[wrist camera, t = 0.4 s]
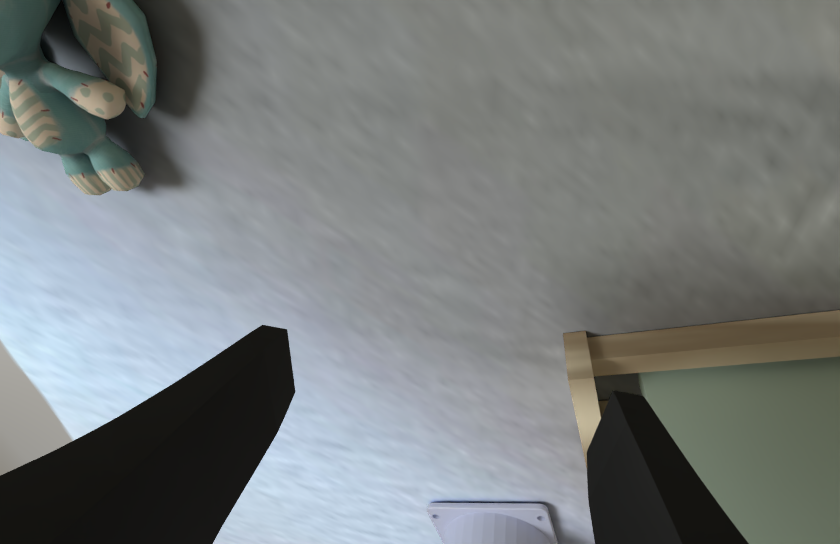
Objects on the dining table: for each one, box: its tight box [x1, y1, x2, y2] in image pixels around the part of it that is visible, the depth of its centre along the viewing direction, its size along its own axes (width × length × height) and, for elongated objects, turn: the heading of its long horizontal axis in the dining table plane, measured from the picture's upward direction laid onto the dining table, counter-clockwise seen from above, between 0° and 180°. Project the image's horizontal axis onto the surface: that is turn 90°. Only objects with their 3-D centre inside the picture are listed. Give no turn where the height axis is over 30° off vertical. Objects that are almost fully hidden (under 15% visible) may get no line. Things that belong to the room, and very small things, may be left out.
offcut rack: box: [563, 310, 840, 467], centre depth 19 cm, size 12×20×3 cm, turn 108°
